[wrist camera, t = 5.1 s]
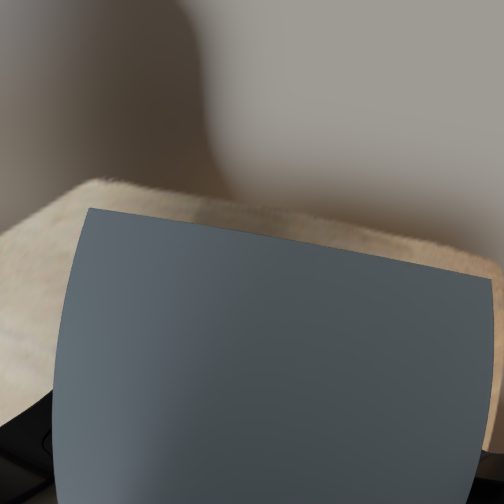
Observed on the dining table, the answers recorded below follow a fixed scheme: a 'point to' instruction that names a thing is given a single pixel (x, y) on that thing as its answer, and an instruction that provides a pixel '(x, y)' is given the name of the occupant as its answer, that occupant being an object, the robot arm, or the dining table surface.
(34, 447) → the robot arm
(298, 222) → the dining table surface
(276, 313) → the blue-grey carton
